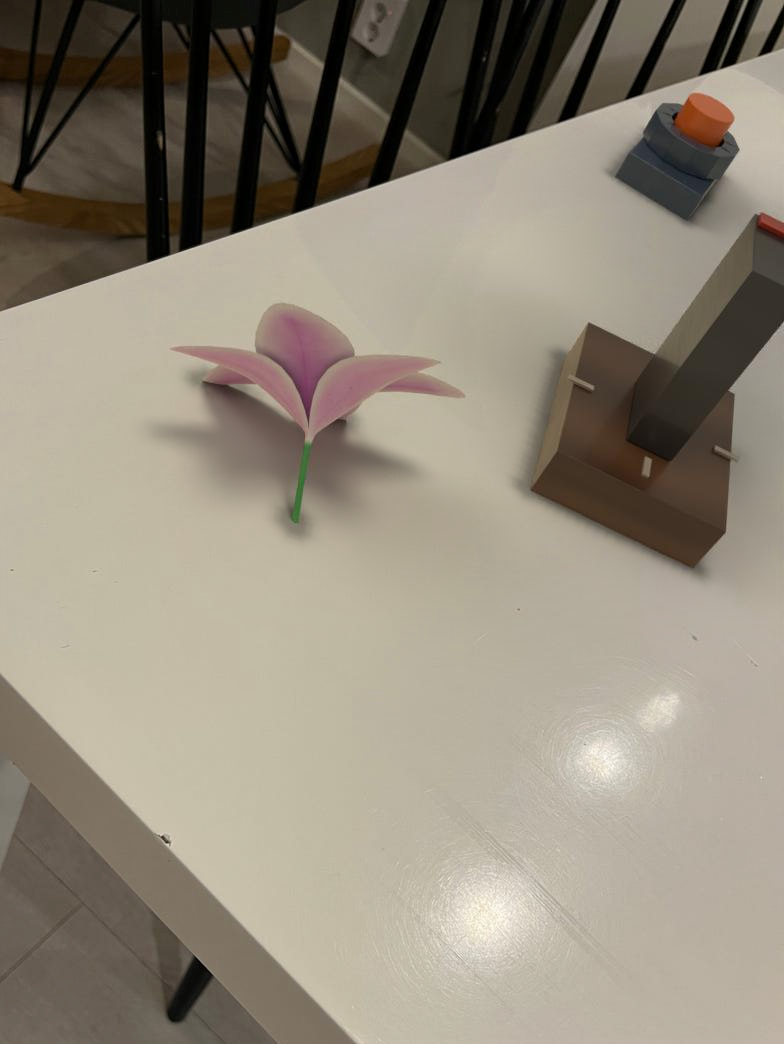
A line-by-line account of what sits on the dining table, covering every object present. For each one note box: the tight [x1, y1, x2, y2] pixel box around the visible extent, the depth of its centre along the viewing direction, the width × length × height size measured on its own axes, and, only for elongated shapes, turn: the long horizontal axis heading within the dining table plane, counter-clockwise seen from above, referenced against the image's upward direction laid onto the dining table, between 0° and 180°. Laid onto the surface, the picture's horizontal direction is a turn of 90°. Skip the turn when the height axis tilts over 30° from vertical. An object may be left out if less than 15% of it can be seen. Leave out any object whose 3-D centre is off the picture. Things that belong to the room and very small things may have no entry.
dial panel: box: [530, 321, 740, 569], centre depth 56 cm, size 12×10×3 cm
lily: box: [169, 302, 467, 524], centre depth 46 cm, size 12×12×10 cm
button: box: [674, 92, 735, 147], centre depth 77 cm, size 4×4×2 cm
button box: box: [614, 102, 741, 222], centre depth 79 cm, size 10×6×4 cm, turn 150°
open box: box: [627, 211, 784, 461], centre depth 51 cm, size 6×2×10 cm, turn 162°
